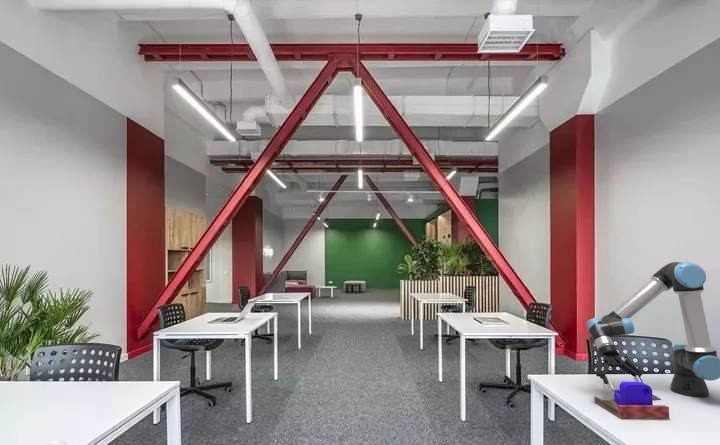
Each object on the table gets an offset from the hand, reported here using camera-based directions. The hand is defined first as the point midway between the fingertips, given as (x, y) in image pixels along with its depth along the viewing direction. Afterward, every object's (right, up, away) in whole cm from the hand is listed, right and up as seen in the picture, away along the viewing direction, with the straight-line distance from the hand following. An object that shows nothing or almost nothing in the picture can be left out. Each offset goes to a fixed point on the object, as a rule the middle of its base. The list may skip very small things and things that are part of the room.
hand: (627, 390), depth 187 cm
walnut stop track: (0, -8, -2) cm, 8 cm away
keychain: (+19, -11, +21) cm, 31 cm away
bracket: (0, -7, +1) cm, 7 cm away
